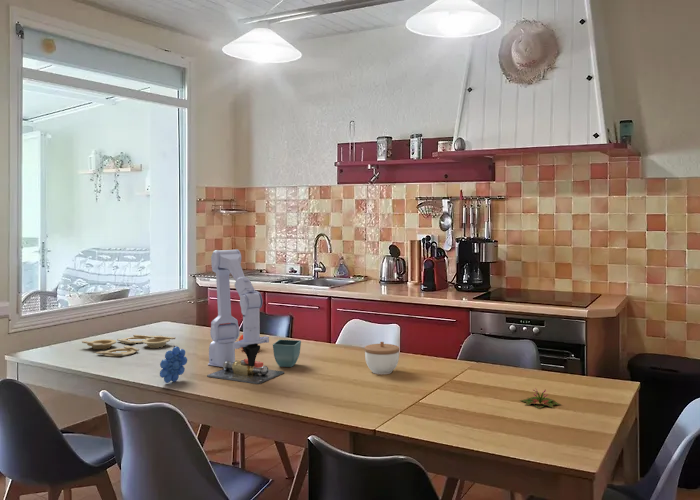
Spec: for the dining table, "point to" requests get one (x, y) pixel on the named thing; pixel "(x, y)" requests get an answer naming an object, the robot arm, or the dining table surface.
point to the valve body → (245, 373)
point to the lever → (257, 364)
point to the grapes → (173, 364)
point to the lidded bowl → (382, 357)
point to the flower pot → (286, 352)
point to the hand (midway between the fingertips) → (251, 365)
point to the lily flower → (540, 400)
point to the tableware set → (107, 343)
